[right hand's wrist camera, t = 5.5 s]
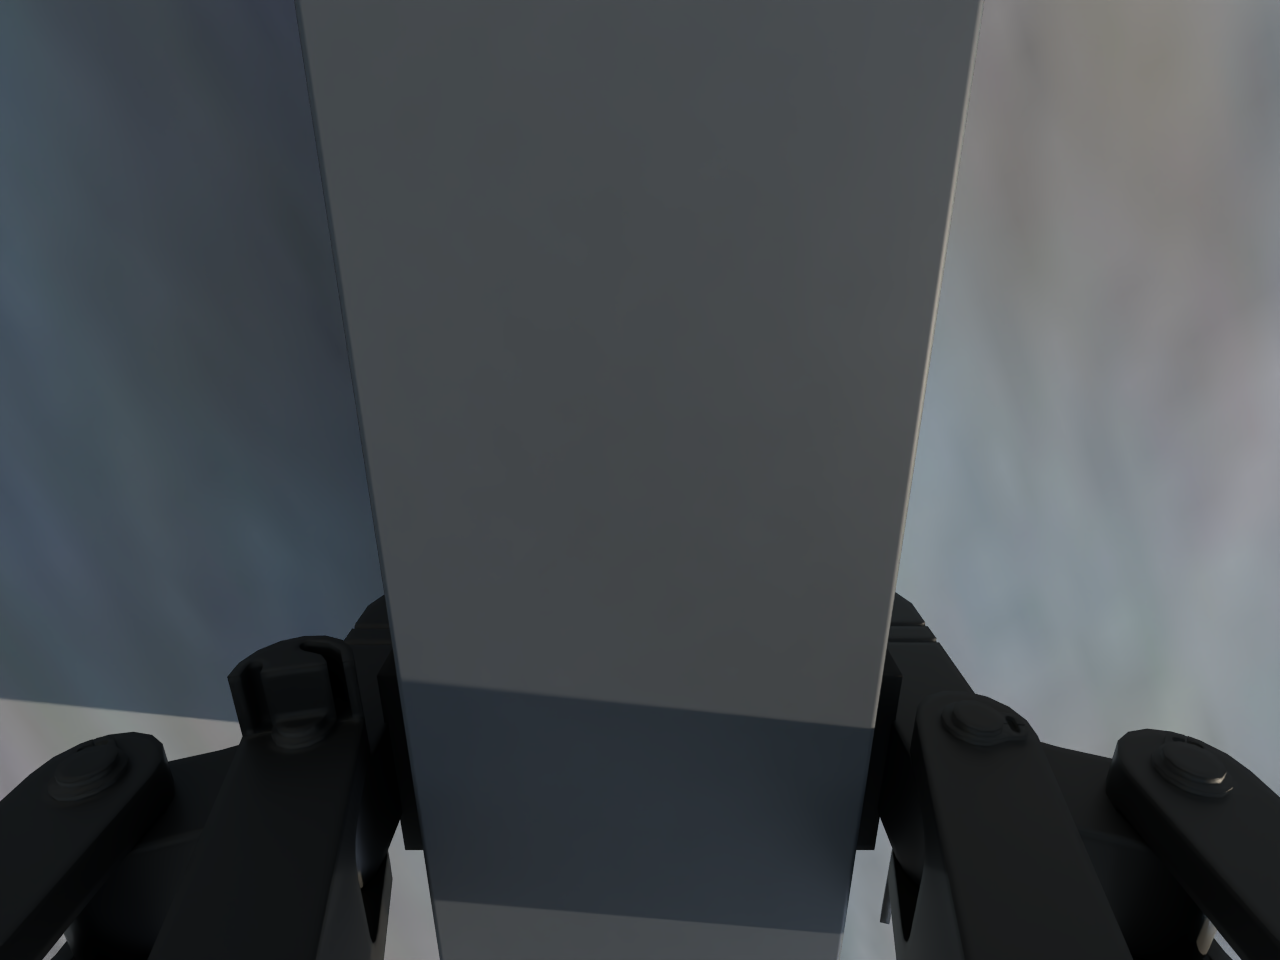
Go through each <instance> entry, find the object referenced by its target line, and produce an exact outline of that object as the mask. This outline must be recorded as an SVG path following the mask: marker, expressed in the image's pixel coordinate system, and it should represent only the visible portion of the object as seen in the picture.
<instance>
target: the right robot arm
mask: <svg viewBox="0 0 1280 960" xmlns="http://www.w3.org/2000/svg"><path fill="white" fill-rule="evenodd" d="M227 678H228V681H229V685H230V689H231V693H232V697H233V701H234V705H235V709H236V712H237V716H238V720H239V724H240V728H241V732H242V736H243V737H242V739H241V742H240V744H239V745H237V746H234V747H230V748H227V749H223V750H219V751H215V752H210V753H205V754H201V755H196V756H192V757H187V758H183V759H178V760H173V761H169V762H168V760H167V757H166V754H165V750H164V747H163V744H162V743H161V742H160V741H159V740H157V739H156V738H155V737H154V736H153V735H149V734H143V733H137V732H128V733H119V734H111V735H106V736H103V737H99V738H96V739H94V740H93V739H92V740H89V741H86V742H84V743H81V744H79V745H77V746H75V747H73V748H71V749H69V750H67V751H65V752H63V753H61V754H59V755H57V756H55V757H53V758H52V759H50V760H49V761H48V762H46V763H45V764H43V765H42V766H41V767H39V768H38V769H37V770H35V771H34V772H33V773H31V774H30V775H29V776H28V777H27V778H25V779H24V780H23V781H22V782H21V783H20V784H19V785H18V786H17V787H16V788H14V789H13V790H12V791H11V792H10V793H9V794H8V795H7V796H6V797H5V798H3V799H2V800H1V801H0V960H42V959H43V958H44V957H45V956H46V954H47V953H48V952H49V951H50V950H51V948H52V947H53V946H54V945H55V943H56V942H57V941H58V940H59V938H60V937H61V936H62V935H63V933H64V935H65V937H66V940H67V941H66V943H65V944H64V945H63V946H62V948H61V949H60V950H59V951H58V953H57V954H56V955H55V956H54V957H53V958H52V959H51V960H384V952H385V943H386V934H387V925H388V915H389V906H390V897H391V888H392V872H391V865H390V859H389V853H388V848H389V846H390V843H391V841H392V838H393V836H394V833H395V831H396V828H397V826H398V823H399V821H401V827H402V833H403V839H404V845H405V850H423V844H422V838H421V831H420V825H419V818H418V811H417V805H416V798H415V792H414V785H413V779H412V772H411V765H410V759H409V752H408V746H407V739H406V732H405V726H404V719H403V713H402V706H401V699H400V693H399V686H398V680H397V673H396V667H395V660H394V653H393V647H392V640H391V634H390V627H389V620H388V614H387V607H386V601H385V594H384V595H383V596H382V597H380V598H379V599H377V600H376V601H374V602H373V603H371V604H370V605H368V607H367V608H366V610H365V611H364V612H363V614H362V615H361V617H360V618H359V620H358V621H357V622H356V624H355V629H352V630H351V631H350V633H349V634H348V635H347V637H346V638H345V640H344V641H343V640H341V639H337V638H333V637H329V636H302V637H298V638H293V639H288V640H284V641H280V642H277V643H275V644H272V645H270V646H267V647H265V648H263V649H260V650H258V651H256V652H255V653H253V654H252V655H250V656H249V657H247V658H246V659H244V660H243V661H241V662H240V663H239V664H238V665H237V666H236V667H235V668H234V670H233V671H232V672H231V673H230V674H229V675H228V677H227ZM879 818H881V821H882V823H883V826H884V828H885V831H886V833H887V836H888V838H889V841H890V843H891V846H892V853H891V859H890V865H889V870H888V876H887V882H886V887H885V893H884V899H883V904H882V911H881V918H880V922H881V923H886V924H889V922H890V917H891V914H892V923H893V932H894V941H895V950H896V959H897V960H1232V959H1231V958H1230V957H1229V956H1228V955H1227V954H1226V953H1225V951H1224V950H1223V949H1222V948H1221V946H1220V945H1219V944H1218V943H1217V941H1216V940H1215V939H1214V936H1215V934H1216V931H1217V930H1218V931H1219V933H1220V934H1221V935H1222V936H1223V938H1224V939H1225V940H1226V941H1227V942H1228V944H1229V945H1230V946H1231V947H1232V949H1233V950H1234V951H1235V952H1236V953H1237V955H1238V956H1239V957H1240V958H1241V960H1280V797H1279V796H1278V795H1277V794H1276V793H1274V792H1273V791H1272V790H1271V789H1270V788H1269V787H1268V786H1267V785H1266V784H1264V783H1263V782H1262V781H1261V780H1260V779H1259V778H1258V777H1257V776H1256V775H1254V774H1253V773H1252V772H1251V771H1250V770H1248V769H1247V768H1246V767H1244V766H1243V765H1242V764H1240V763H1239V762H1238V761H1236V760H1235V759H1233V758H1232V757H1231V756H1229V755H1228V754H1226V753H1224V752H1222V751H1220V750H1218V749H1216V748H1214V747H1212V746H1210V745H1208V744H1206V743H1204V742H1202V741H1200V740H1197V739H1195V738H1192V737H1189V736H1188V737H1187V736H1184V735H1182V734H1178V733H1174V732H1171V731H1162V730H1154V729H1142V730H1136V731H1130V732H1128V733H1126V734H1125V735H1124V736H1123V737H1122V738H1121V739H1119V740H1118V742H1117V745H1116V749H1115V752H1114V755H1113V758H1112V759H1111V758H1107V757H1102V756H1097V755H1093V754H1088V753H1084V752H1079V751H1074V750H1070V749H1065V748H1061V747H1057V746H1053V745H1050V744H1046V743H1043V742H1040V740H1039V738H1038V736H1037V734H1036V733H1035V731H1034V730H1033V729H1032V727H1031V726H1030V724H1029V723H1028V722H1027V720H1025V719H1024V718H1023V717H1022V716H1020V715H1019V714H1018V713H1016V712H1015V711H1014V710H1012V709H1011V708H1010V707H1008V706H1006V705H1004V704H1002V703H1000V702H997V701H995V700H993V699H991V698H989V697H986V696H982V695H978V694H975V693H974V692H973V690H972V689H971V687H970V686H969V684H968V683H967V682H966V680H965V679H964V677H963V676H962V674H961V673H960V672H959V670H958V669H957V667H956V666H955V664H954V663H953V662H952V660H951V659H950V657H949V656H948V654H947V653H946V652H945V650H944V649H943V647H942V646H941V644H940V643H939V642H936V637H935V636H934V634H933V633H932V632H931V630H930V629H929V627H928V626H925V622H924V620H923V619H922V617H921V616H920V614H919V613H918V612H917V610H916V609H915V607H914V606H913V604H912V603H910V602H909V601H907V600H906V599H905V598H903V597H902V596H900V595H899V594H897V593H896V592H895V596H894V603H893V609H892V616H891V623H890V629H889V636H888V642H887V649H886V656H885V662H884V669H883V675H882V682H881V689H880V695H879V702H878V709H877V715H876V722H875V728H874V735H873V742H872V748H871V755H870V762H869V768H868V775H867V781H866V788H865V795H864V801H863V808H862V814H861V821H860V828H859V834H858V841H857V848H856V850H874V849H875V842H876V836H877V830H878V824H879Z"/></svg>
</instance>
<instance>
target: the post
mask: <svg viewBox="0 0 1280 960" xmlns="http://www.w3.org/2000/svg"><path fill="white" fill-rule="evenodd" d="M294 2H295V8H296V15H297V21H298V28H299V35H300V41H301V48H302V54H303V61H304V67H305V74H306V81H307V87H308V94H309V100H310V107H311V114H312V120H313V127H314V133H315V140H316V146H317V153H318V160H319V166H320V173H321V179H322V186H323V193H324V199H325V206H326V212H327V219H328V225H329V232H330V239H331V245H332V252H333V258H334V265H335V272H336V278H337V285H338V291H339V298H340V304H341V311H342V318H343V324H344V331H345V337H346V344H347V351H348V357H349V364H350V370H351V377H352V383H353V390H354V397H355V403H356V410H357V416H358V423H359V430H360V436H361V443H362V449H363V456H364V462H365V469H366V476H367V482H368V489H369V495H370V502H371V509H372V515H373V522H374V528H375V535H376V541H377V548H378V555H379V561H380V568H381V574H382V581H383V588H384V594H385V601H386V607H387V614H388V620H389V627H390V634H391V640H392V647H393V653H394V660H395V667H396V673H397V680H398V686H399V693H400V699H401V706H402V713H403V719H404V726H405V732H406V739H407V746H408V752H409V759H410V765H411V772H412V779H413V785H414V792H415V798H416V805H417V811H418V818H419V825H420V831H421V838H422V844H423V851H424V858H425V864H426V871H427V877H428V884H429V890H430V897H431V904H432V910H433V917H434V923H435V930H436V937H437V943H438V950H439V956H440V960H840V953H841V947H842V940H843V934H844V927H845V920H846V914H847V907H848V901H849V894H850V887H851V881H852V874H853V867H854V861H855V854H856V848H857V841H858V834H859V828H860V821H861V814H862V808H863V801H864V795H865V788H866V781H867V775H868V768H869V762H870V755H871V748H872V742H873V735H874V728H875V722H876V715H877V709H878V702H879V695H880V689H881V682H882V675H883V669H884V662H885V656H886V649H887V642H888V636H889V629H890V623H891V616H892V609H893V603H894V596H895V589H896V583H897V576H898V570H899V563H900V556H901V550H902V543H903V536H904V530H905V523H906V517H907V510H908V503H909V497H910V490H911V484H912V477H913V470H914V464H915V457H916V450H917V444H918V437H919V431H920V424H921V417H922V411H923V404H924V397H925V391H926V384H927V378H928V371H929V364H930V358H931V351H932V345H933V338H934V331H935V325H936V318H937V311H938V305H939V298H940V292H941V285H942V278H943V272H944V265H945V258H946V252H947V245H948V239H949V232H950V225H951V219H952V212H953V206H954V199H955V192H956V186H957V179H958V172H959V166H960V159H961V153H962V146H963V139H964V133H965V126H966V119H967V113H968V106H969V100H970V93H971V86H972V80H973V73H974V67H975V60H976V53H977V47H978V40H979V33H980V27H981V20H982V14H983V7H984V0H294Z"/></svg>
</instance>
